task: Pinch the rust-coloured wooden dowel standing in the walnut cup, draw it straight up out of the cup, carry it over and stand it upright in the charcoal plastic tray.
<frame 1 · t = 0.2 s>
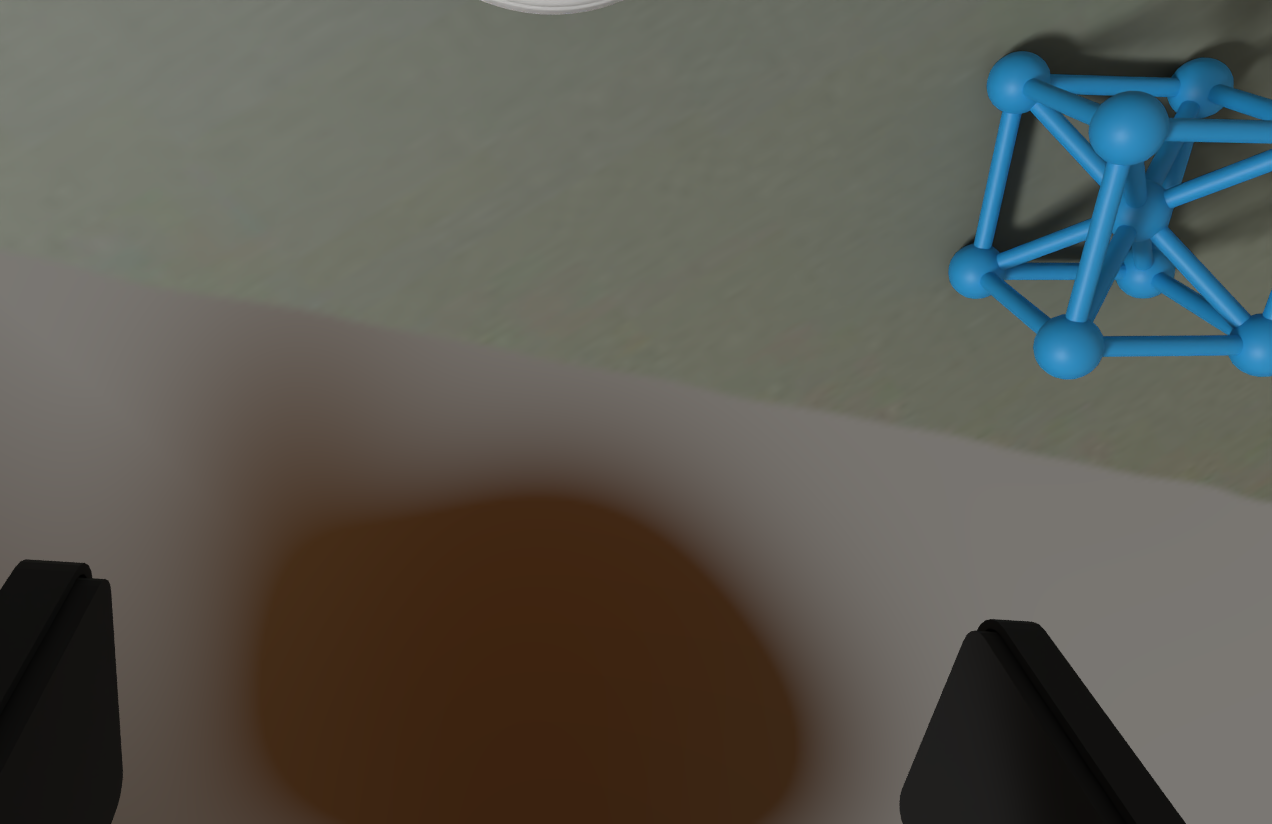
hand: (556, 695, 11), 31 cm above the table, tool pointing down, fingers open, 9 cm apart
molecular structure: (1068, 173, 43), on the table
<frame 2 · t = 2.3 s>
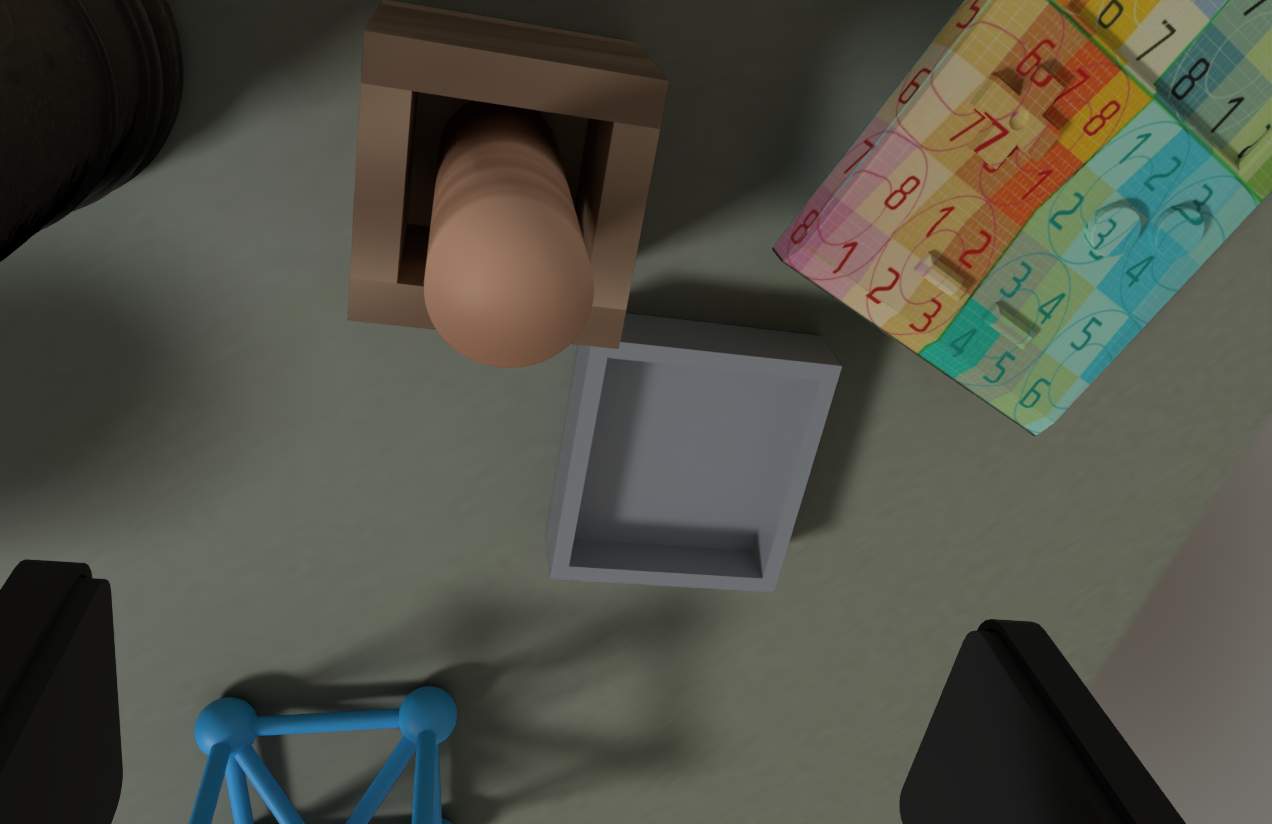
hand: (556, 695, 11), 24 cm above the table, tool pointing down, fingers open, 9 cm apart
pin cup: (498, 146, 32), on the table
container: (17, 38, 29), on the table
dowel: (498, 154, 31), point 1 cm above the table, touching pin cup
molecular structure: (340, 764, 43), on the table
tray: (678, 440, 38), on the table
puzzle game: (1074, 69, 33), on the table
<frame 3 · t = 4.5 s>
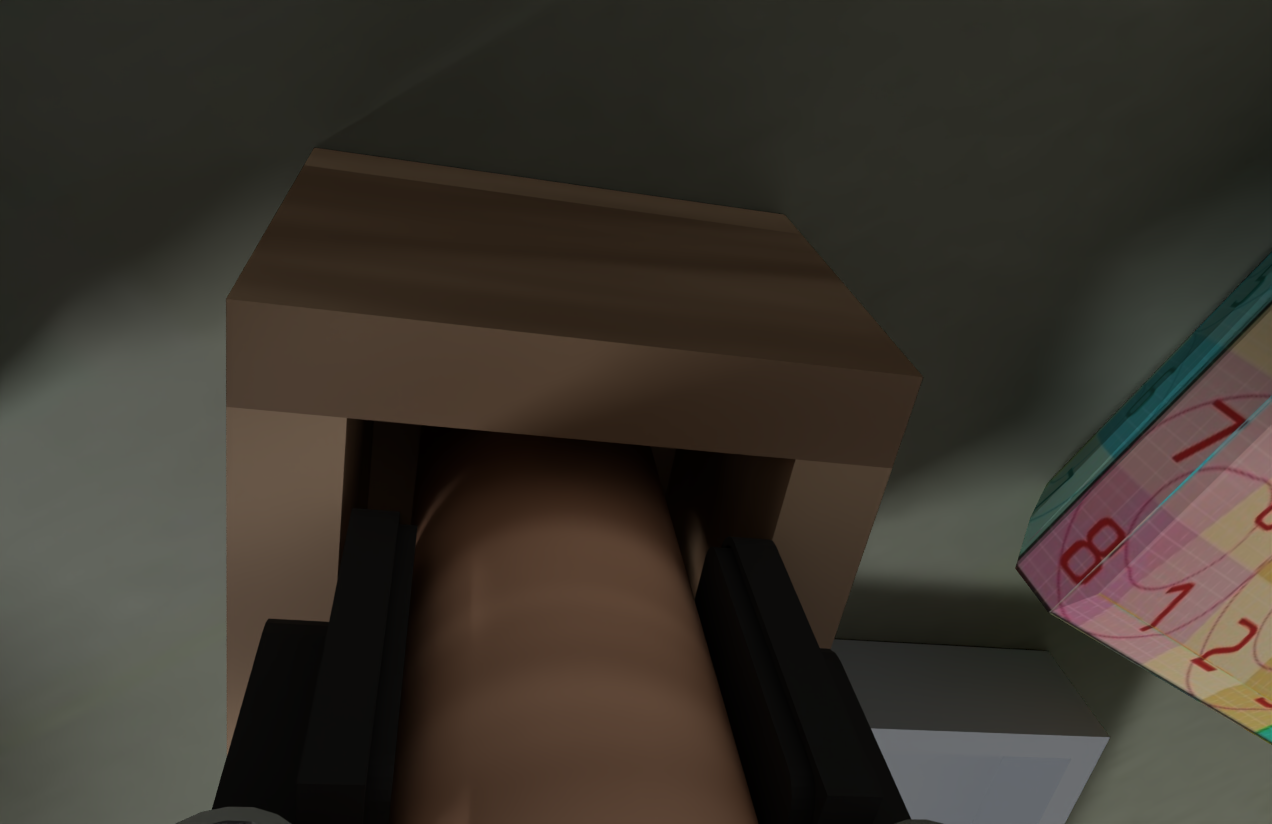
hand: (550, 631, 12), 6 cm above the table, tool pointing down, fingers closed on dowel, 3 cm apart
pin cup: (529, 392, 18), on the table
dowel: (531, 420, 17), point 1 cm above the table, touching gripper, pin cup
tray: (809, 801, 23), on the table
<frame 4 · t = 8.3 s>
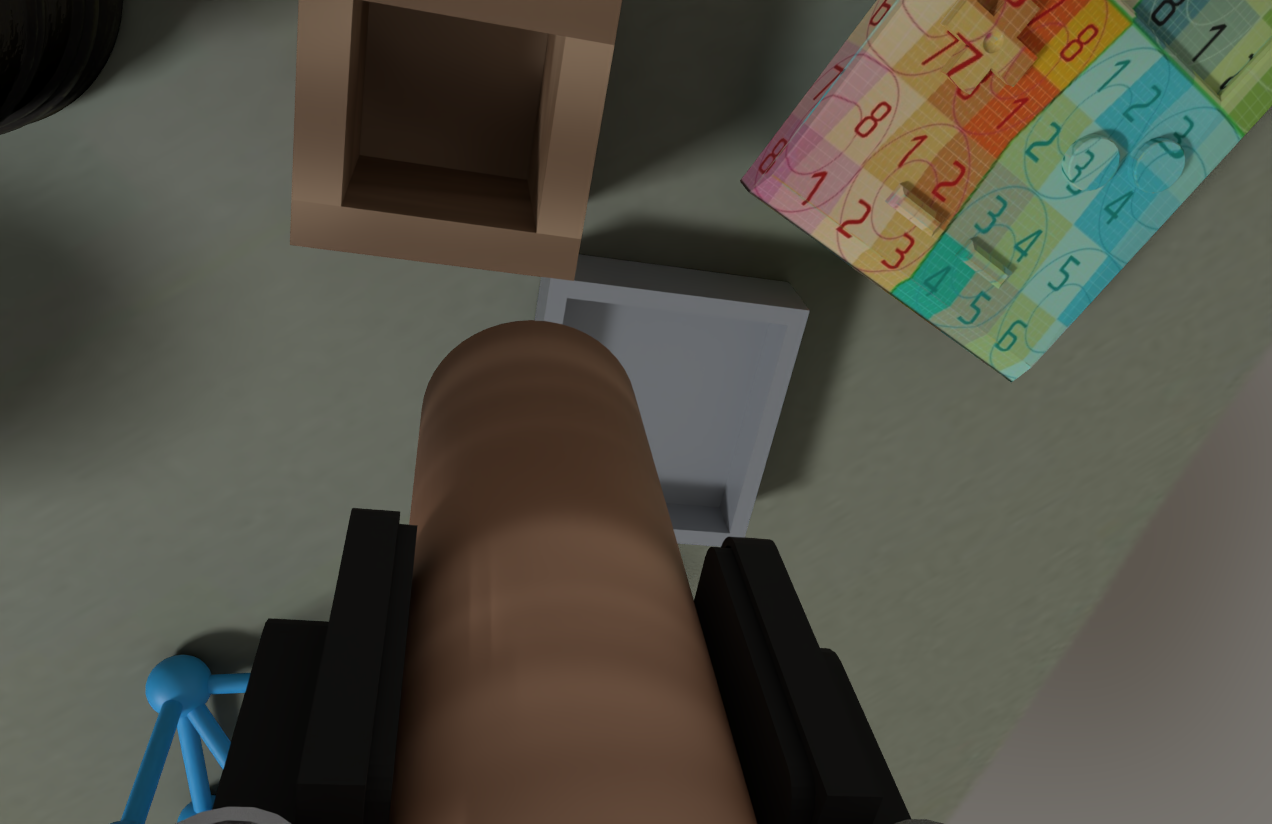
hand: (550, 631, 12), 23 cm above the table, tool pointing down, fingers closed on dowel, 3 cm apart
pin cup: (454, 76, 31), on the table
dowel: (530, 419, 17), point 17 cm above the table, touching gripper
molecular structure: (299, 727, 42), on the table
tray: (643, 390, 37), on the table
puzzle game: (1054, 1, 33), on the table
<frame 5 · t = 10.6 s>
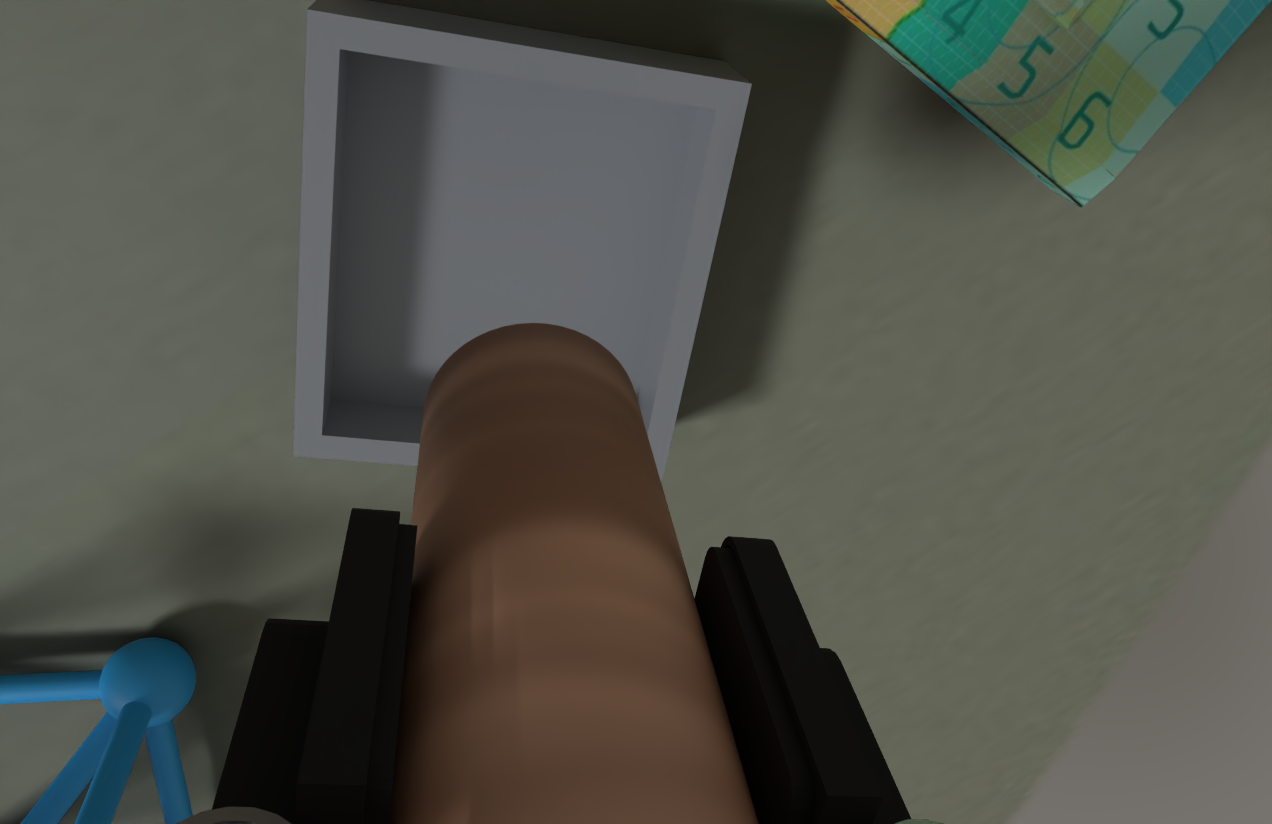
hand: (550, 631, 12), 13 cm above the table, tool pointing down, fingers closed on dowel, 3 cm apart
dowel: (532, 421, 17), point 8 cm above the table, touching gripper
molecular structure: (43, 755, 29), on the table
tray: (505, 241, 24), on the table
when the fingers open (7 cm above the table, at t = 12.5 s): dowel drops 1 cm, resting on tray.
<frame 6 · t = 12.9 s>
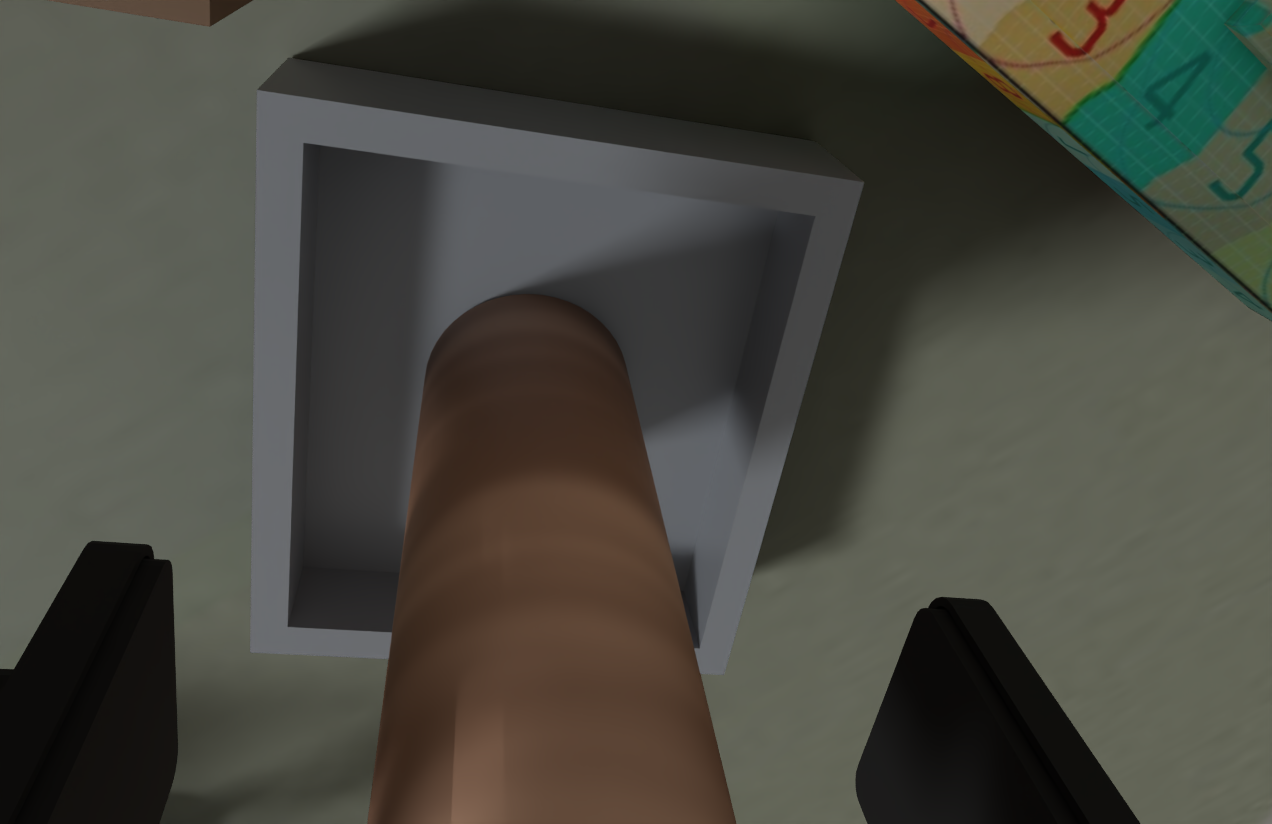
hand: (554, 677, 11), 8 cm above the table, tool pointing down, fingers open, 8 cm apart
dowel: (527, 387, 18), point 1 cm above the table, touching tray
tray: (527, 367, 18), on the table
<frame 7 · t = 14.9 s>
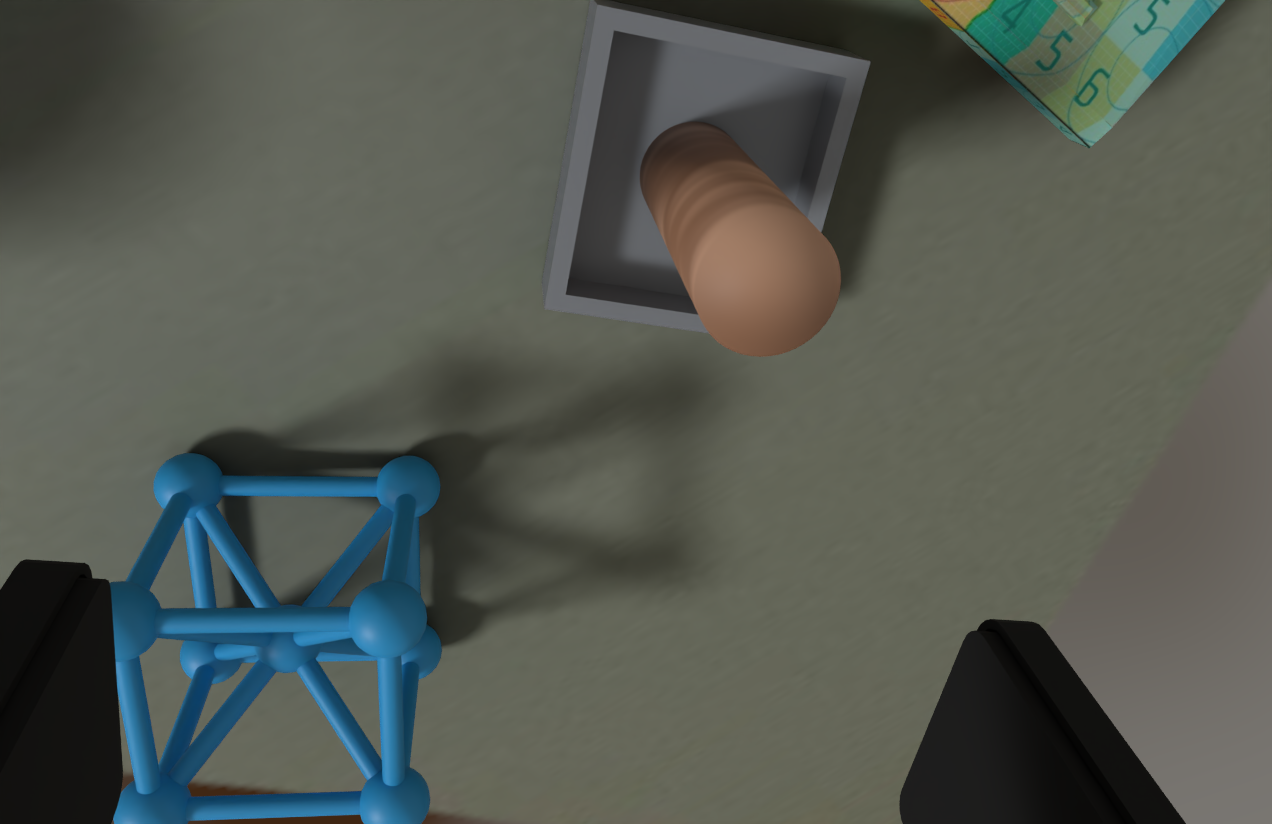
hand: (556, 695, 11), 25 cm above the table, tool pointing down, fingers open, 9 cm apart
dowel: (692, 175, 34), point 1 cm above the table, touching tray
molecular structure: (313, 552, 40), on the table
tray: (688, 170, 35), on the table
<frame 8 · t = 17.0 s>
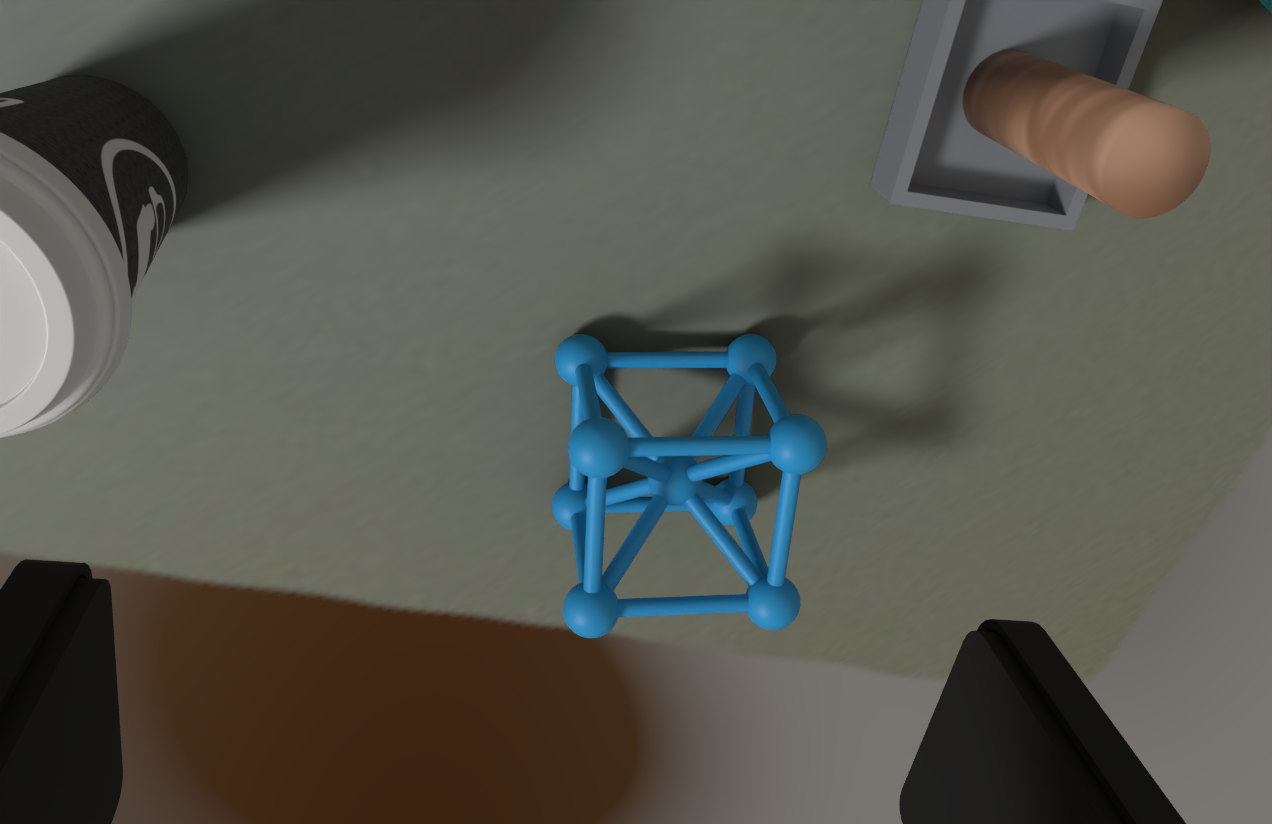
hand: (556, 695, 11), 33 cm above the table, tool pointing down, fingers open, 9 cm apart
dowel: (1003, 93, 42), point 1 cm above the table, touching tray
molecular structure: (656, 420, 49), on the table
coffee cup: (100, 160, 40), on the table
tray: (995, 90, 43), on the table
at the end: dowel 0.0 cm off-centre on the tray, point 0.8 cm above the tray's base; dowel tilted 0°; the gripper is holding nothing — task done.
